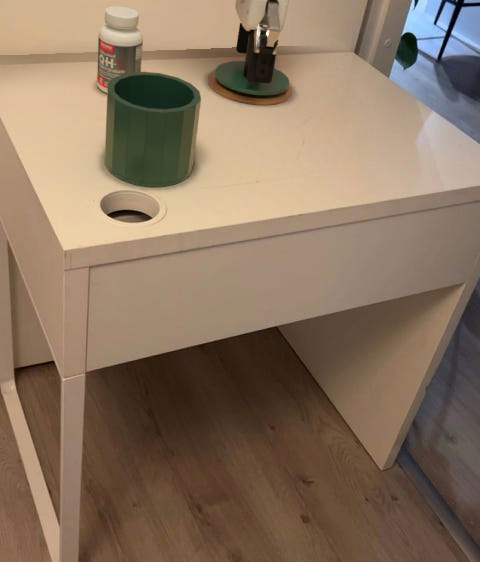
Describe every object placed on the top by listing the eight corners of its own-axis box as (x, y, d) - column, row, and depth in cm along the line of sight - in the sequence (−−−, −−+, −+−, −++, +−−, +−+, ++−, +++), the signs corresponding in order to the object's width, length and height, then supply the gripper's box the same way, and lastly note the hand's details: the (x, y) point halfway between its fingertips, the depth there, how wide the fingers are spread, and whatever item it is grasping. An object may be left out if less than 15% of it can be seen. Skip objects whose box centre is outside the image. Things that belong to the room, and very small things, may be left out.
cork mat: (213, 101, 95) (213, 98, 94) (203, 65, 104) (203, 63, 103) (299, 107, 97) (300, 105, 97) (282, 72, 106) (283, 69, 106)
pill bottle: (92, 93, 91) (94, 14, 86) (101, 76, 96) (104, 0, 90) (135, 100, 92) (140, 22, 86) (142, 83, 96) (148, 8, 90)
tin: (105, 184, 75) (108, 108, 70) (104, 141, 82) (107, 68, 77) (195, 189, 77) (205, 114, 72) (187, 146, 84) (195, 75, 79)
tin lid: (219, 96, 95) (225, 47, 91) (210, 65, 103) (215, 18, 99) (294, 102, 97) (304, 54, 93) (280, 71, 105) (288, 25, 101)
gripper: (234, -91, 94) (217, 40, 105) (256, -54, 81) (234, 92, 91) (290, -84, 96) (268, 45, 106) (321, -46, 82) (292, 96, 93)
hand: (252, 66), depth 99 cm, fingers open, 9 cm apart
